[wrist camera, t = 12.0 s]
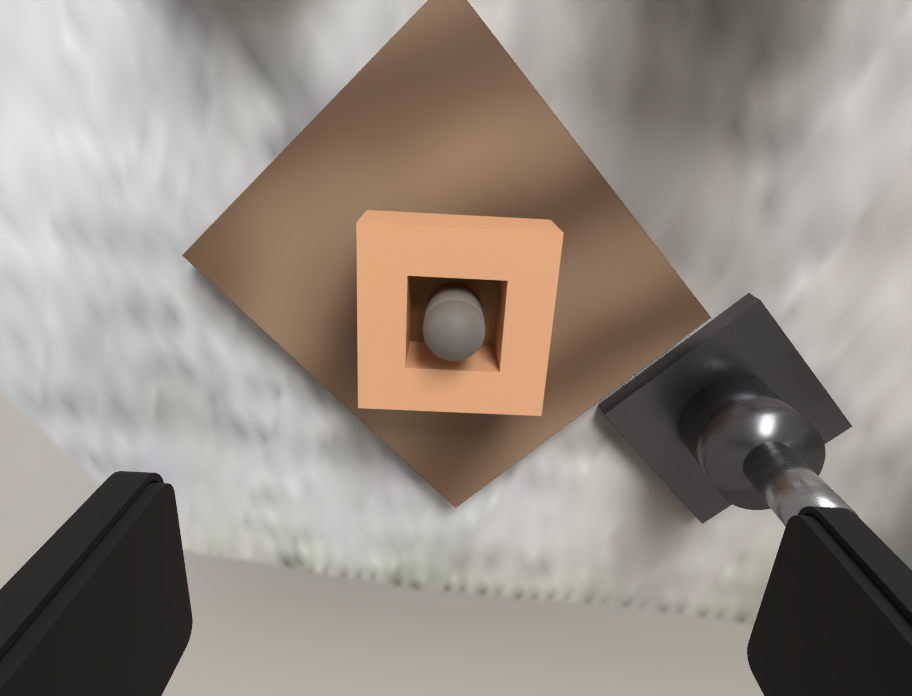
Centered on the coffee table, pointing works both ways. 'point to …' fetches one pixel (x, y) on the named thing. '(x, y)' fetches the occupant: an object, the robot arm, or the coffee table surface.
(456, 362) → the square peach frame
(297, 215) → the toggle switch
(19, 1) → the coffee table surface
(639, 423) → the stand
